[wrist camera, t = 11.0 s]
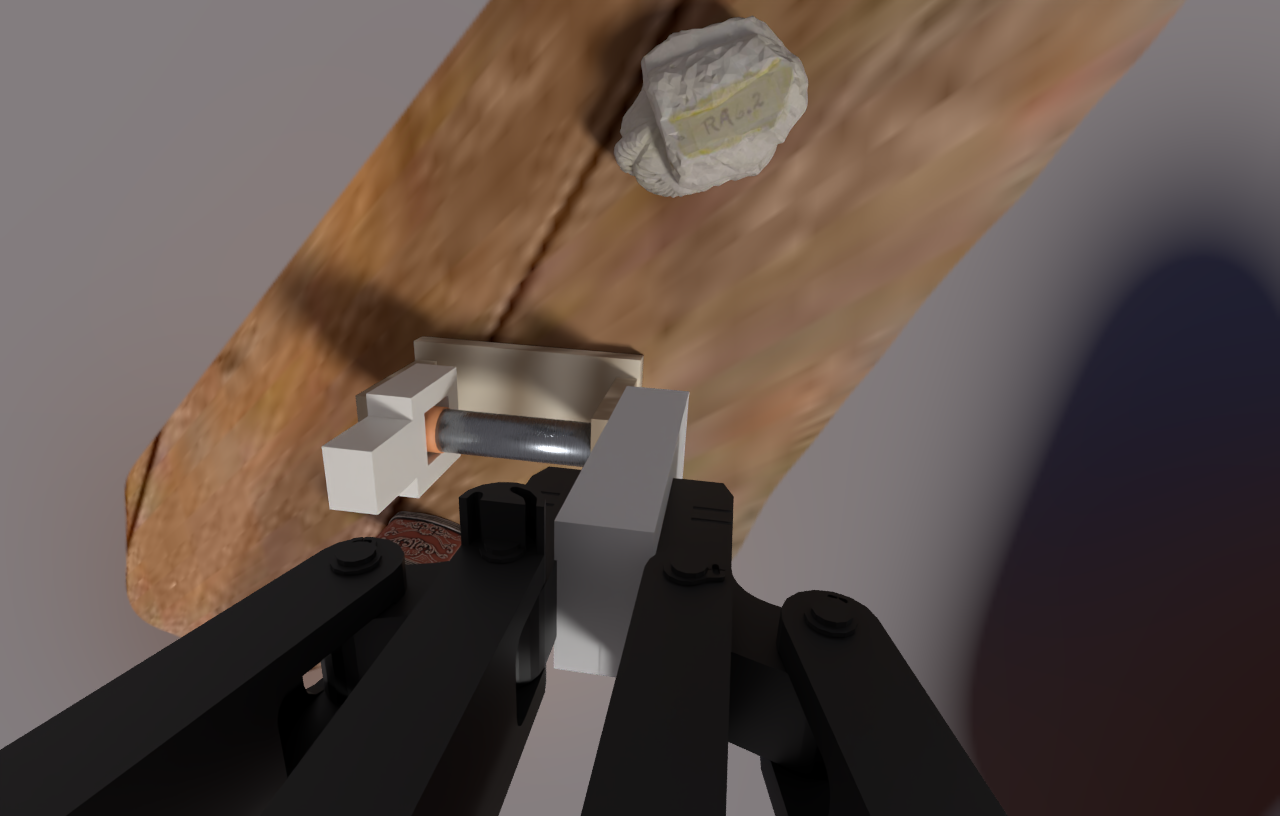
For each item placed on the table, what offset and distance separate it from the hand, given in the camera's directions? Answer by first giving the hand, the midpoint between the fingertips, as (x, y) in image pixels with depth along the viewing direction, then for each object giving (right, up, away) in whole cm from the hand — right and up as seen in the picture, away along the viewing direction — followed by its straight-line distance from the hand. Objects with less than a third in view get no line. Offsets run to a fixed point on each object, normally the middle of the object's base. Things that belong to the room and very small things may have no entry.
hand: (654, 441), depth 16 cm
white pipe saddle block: (-15, +1, +33) cm, 37 cm away
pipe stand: (-9, +2, +38) cm, 39 cm away
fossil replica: (+4, +21, +29) cm, 36 cm away
